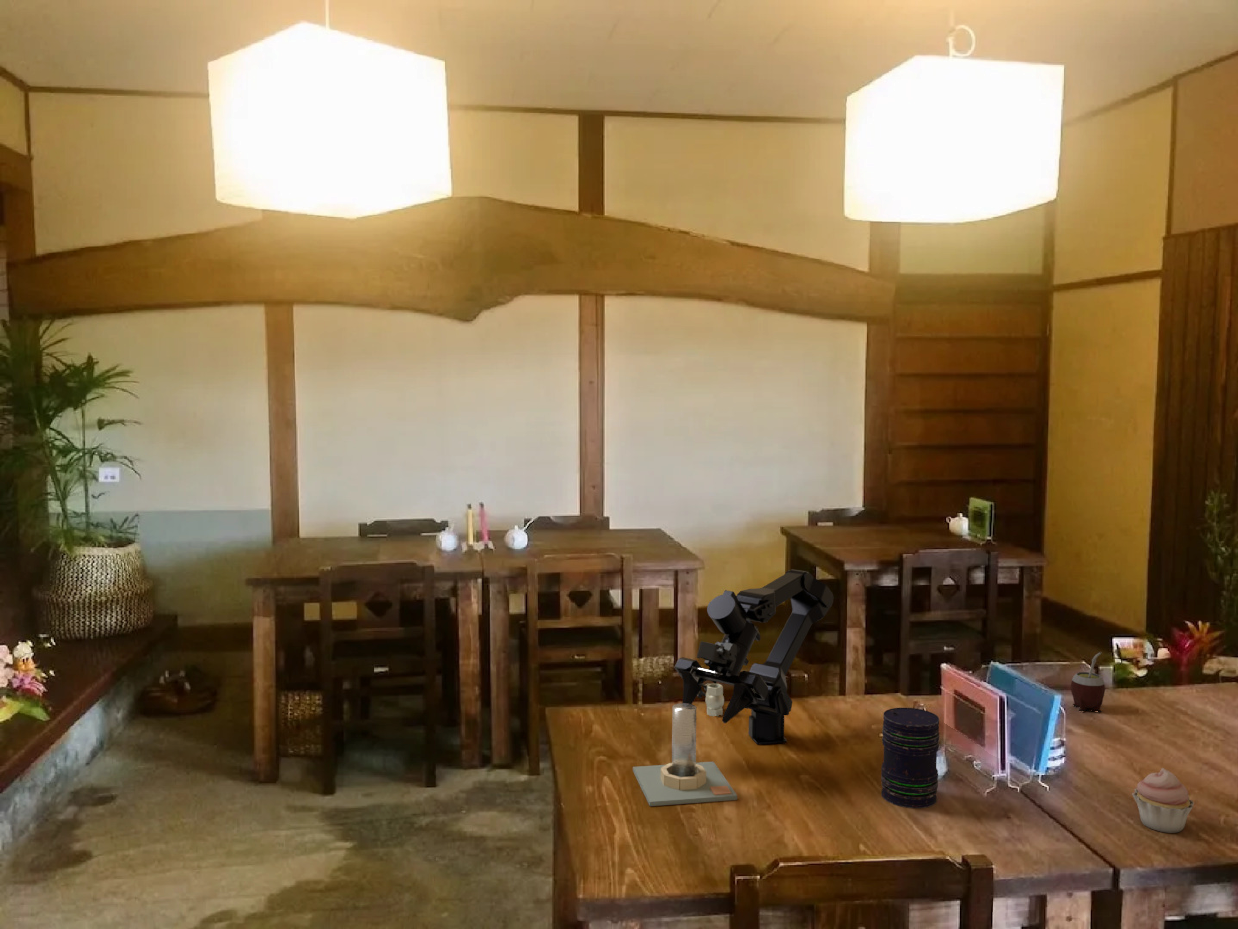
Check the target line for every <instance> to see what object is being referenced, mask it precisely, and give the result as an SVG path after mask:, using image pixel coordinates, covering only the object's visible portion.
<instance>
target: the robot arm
mask: <svg viewBox="0 0 1238 929" xmlns="http://www.w3.org/2000/svg"><path fill="white" fill-rule="evenodd" d="M788 600H790V606H791V614H790V615H789V617H788V619H787V620H786V623H785V624H784V625H783V626H784V627H782V628H783V629H782V631H781V632H780V633H779V636H778V637H777V640H776V642H775V643H774V645H773V647H772V649H771V651H770V653H769V654H768V657H767V658H766V661H765V662H764V663H756V662H754V663H753V664H752V665H751V667H750V670H749V671H748V670H747V671H746V670H742V668H743V666H748V664H749V659H748V658H747V657H748V654H749V652H750V651H751V649H752V646H753V644H754V641H758V642H759V641H761V634H760V632H759V626H755V624H754V623H753V622H756V623H757V622H758V623H762V624H766V623H767V622H769V621H770V619H771V618H772V617H774V616H775V615H776V614H777V612H776V609H777V607H778V606H780V605H781V604H783V603H785V602H786V601H788ZM833 603H834V594H833V592H832V591H831V589H830V587H829V586H828V585H827V584H825V583H823V582H822V581H821V580H818V579H817V578H815V577H814V576H813V575H812V573H810V572H809V571H807V570H799V569H793V568H792V569H789V570H787V571H786V572H785V573H784V574H783V575H781V576H780V577H778V578H776V579H774V580H772V581H771V582H769V583H767V584H766V585H764V586H762V587H758V588H746V589H743V590H740V591H739V592H737V594H736V593H735V592H734V591H732V590H726V589H725V590H723V593H722V594H720V595H718V596H717V595H716V597H714V598H713V599H711V601H709V603H708V605H707V606H706V607H707V609H706V611H707V614H708V617H710V619H711V620H712V621H713V623H714V624H715V626H716V627H717V629H718V630H719V631H720V632H721V633H722V634H724V635H723V638H722V640H721V641H720V642H719V641H716V642H715V643H710V642H705V641H700V642H699V645H698V646H699V647H698V649H697V650H698V651H697V654H696V658H697V659H702V660H704V662H703V663H704V664H705V665H706V666H707V667H708V668H703V667H702V665H701V664H700V663H699V662H698V660H696V659H694V658H693V659H692V658H687V657H680V658H678V659H677V661H676V662H675V665H674V666H673V669H674V670H675V672H677V674H678V675H679V676H680V677H681V679H682V684H683V693H682V701H681V702H682V703H687V704H692V705H693V703H694V702H695V700H696V698H697V697H698V696H697V695H698V693H699V692H700V690H702V689H703V687H702V686H700V685H699V684H701V683H703V684H704V683H705V682H704V679H707V681H710V680H712V681H716V682H717V683H719V684H726V685H730V686H733V693H732V696H731V698H730V700H729V702H728V704H727V707H726V708H725V711H724V713H723V715H722V719H721V721H722V722H723V724H727V723H728V722H729V721H731V719H733V718H734V717H735V716H737V715H738V714H739V713H740V712H741V711H743V710H744V709H746V710H748V709H749V710H750V711H751V712H750V713H751V715H749V716H748V733H747V734H748V735H749V736H750V737H751V739H752V740H753V741H754V743H756V745H770V744H771V745H772V744H782V743H784V744H786V743H787V742H788V740H787V738H786V737H785V716H788V715H790V712H792V707H793V700H792V698H791V697H790V696H789V694H788V693H787V691H788V685H787V679H786V676H787V673H788V671H789V670H790V668H791V665H792V663H793V661H795V660H794V659H795V658H796V656H797V654H798V652H799V651H800V648H801V646H802V644H803V642H804V640H805V638H806V637H807V635H808V633H809V630H810V629H811V627H812V625H813V624H815V623H818V621H820V620H822V619H823V618H825V616H826V615H827V613H828V612H829V610H830V609H831V607H832V606H833ZM712 681H711V682H712Z"/></svg>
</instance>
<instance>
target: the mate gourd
mask: <svg viewBox="0 0 1238 929" xmlns="http://www.w3.org/2000/svg"><path fill="white" fill-rule="evenodd" d="M1101 654H1102V651H1100V652H1098V653H1096V654H1095V655H1094V656H1093V657H1092V659H1091V665H1090V669H1089V671H1080V672H1076V673H1075V674H1074V675H1073V676H1072V679H1071V683H1070V691H1071V695H1072V699H1073V704H1072V706H1073V705H1074V706H1076V707H1075V708H1077V707H1080V708H1079V710H1078V712H1079V711H1085V712H1087V711H1089V710H1092V711H1091V712H1093V711H1098V712H1101V713H1102V710H1101V707H1102V705H1103V702H1104V696H1105V692H1106V686H1105V681H1104V679H1103V677H1102V676H1101V675H1100V674H1097V673H1093V671H1094V668H1095V664H1096V663H1097V659H1098V657H1099V656H1101ZM1086 710H1087V711H1086Z"/></svg>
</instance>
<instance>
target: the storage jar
mask: <svg viewBox="0 0 1238 929" xmlns="http://www.w3.org/2000/svg"><path fill="white" fill-rule="evenodd" d="M882 716H883V722H882V731H881V732H882V733H881V735H882V738H881V741H882V746H883V762H882V764H881V773H880V775H881V777H880V781H881V788H882V789H881V790H880V791H881V794H880V795H881V797H882V798H883V800H885V801H886V802H888V803H890V804H892V805H894V806H898V807H902V808H908V809H925V808H929V807H932V806H934V805H935V804H936V803H937V800H938V798H937V797H938V796H937V792H938V786H939V779H938V778H939V770H938V768H937V761H938V760H937V758H938V751H939V749H940V748H939V747H940V742H939V741H940V728H939V726H940V718H939V716H938V715H936V714H935V713H933V712H931V711H928V710H925V709H920V708H915V707H894V708H889V709H887V710H885V711H884V712H883V715H882Z"/></svg>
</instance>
